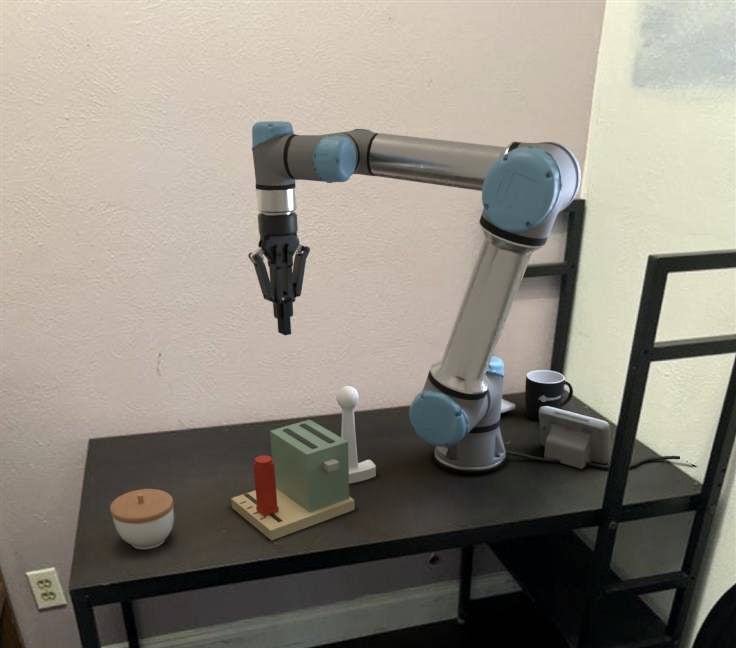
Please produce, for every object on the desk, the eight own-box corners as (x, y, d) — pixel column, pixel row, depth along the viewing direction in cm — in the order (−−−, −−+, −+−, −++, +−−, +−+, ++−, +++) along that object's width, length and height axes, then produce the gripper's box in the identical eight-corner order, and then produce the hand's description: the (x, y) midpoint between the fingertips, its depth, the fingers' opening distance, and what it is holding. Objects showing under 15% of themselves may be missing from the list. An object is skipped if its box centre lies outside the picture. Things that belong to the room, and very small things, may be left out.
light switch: (458, 412, 191) (459, 393, 189) (488, 403, 196) (489, 384, 194) (486, 425, 184) (487, 405, 182) (516, 415, 189) (518, 396, 187)
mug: (531, 425, 184) (535, 384, 179) (516, 411, 192) (520, 371, 186) (578, 420, 186) (583, 380, 181) (561, 406, 194) (566, 367, 189)
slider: (256, 510, 145) (251, 458, 140) (271, 505, 147) (266, 453, 142) (264, 516, 143) (259, 464, 138) (279, 511, 145) (275, 459, 139)
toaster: (231, 508, 151) (224, 440, 144) (312, 481, 160) (309, 416, 153) (273, 542, 140) (267, 471, 133) (357, 511, 149) (356, 443, 142)
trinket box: (114, 559, 135) (104, 512, 131) (120, 527, 145) (111, 483, 140) (177, 553, 137) (170, 506, 132) (179, 522, 146) (172, 478, 141)
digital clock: (613, 464, 166) (621, 418, 160) (587, 477, 161) (594, 429, 156) (553, 440, 177) (558, 396, 171) (527, 451, 172) (531, 406, 166)
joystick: (327, 487, 158) (323, 394, 148) (316, 471, 164) (311, 381, 154) (378, 478, 161) (378, 386, 151) (365, 463, 167) (364, 374, 157)
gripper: (295, 206, 155) (301, 323, 166) (237, 213, 148) (247, 334, 160) (316, 210, 149) (321, 331, 161) (256, 218, 143) (266, 343, 154)
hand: (284, 333), depth 160 cm, fingers closed
